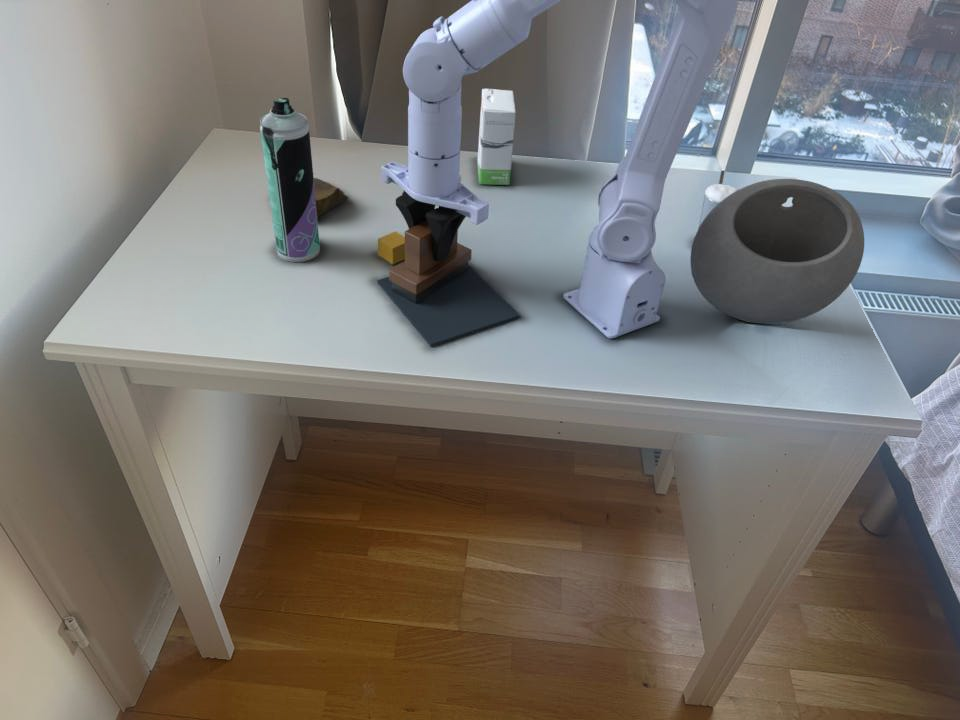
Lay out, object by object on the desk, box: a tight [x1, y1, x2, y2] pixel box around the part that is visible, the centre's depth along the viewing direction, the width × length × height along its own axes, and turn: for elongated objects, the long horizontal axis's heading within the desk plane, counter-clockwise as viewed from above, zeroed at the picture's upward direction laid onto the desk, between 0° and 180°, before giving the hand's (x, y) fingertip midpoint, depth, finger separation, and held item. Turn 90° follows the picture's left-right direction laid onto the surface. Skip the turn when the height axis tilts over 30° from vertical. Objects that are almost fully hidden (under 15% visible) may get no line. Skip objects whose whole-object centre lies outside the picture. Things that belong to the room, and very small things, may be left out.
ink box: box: [476, 88, 517, 186], centre depth 113 cm, size 9×5×12 cm, turn 2°
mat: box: [376, 264, 520, 348], centre depth 90 cm, size 14×12×1 cm
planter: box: [690, 178, 865, 325], centre depth 85 cm, size 18×7×19 cm, turn 78°
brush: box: [388, 219, 473, 303], centre depth 90 cm, size 10×4×8 cm, turn 142°
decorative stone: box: [313, 177, 349, 218], centre depth 105 cm, size 10×9×4 cm
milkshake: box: [697, 170, 739, 230], centre depth 101 cm, size 4×5×10 cm
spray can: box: [259, 97, 321, 263], centre depth 90 cm, size 6×6×20 cm
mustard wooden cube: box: [377, 231, 405, 266], centre depth 96 cm, size 3×3×2 cm
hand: (432, 253), depth 90 cm, fingers closed on brush, 2 cm apart
